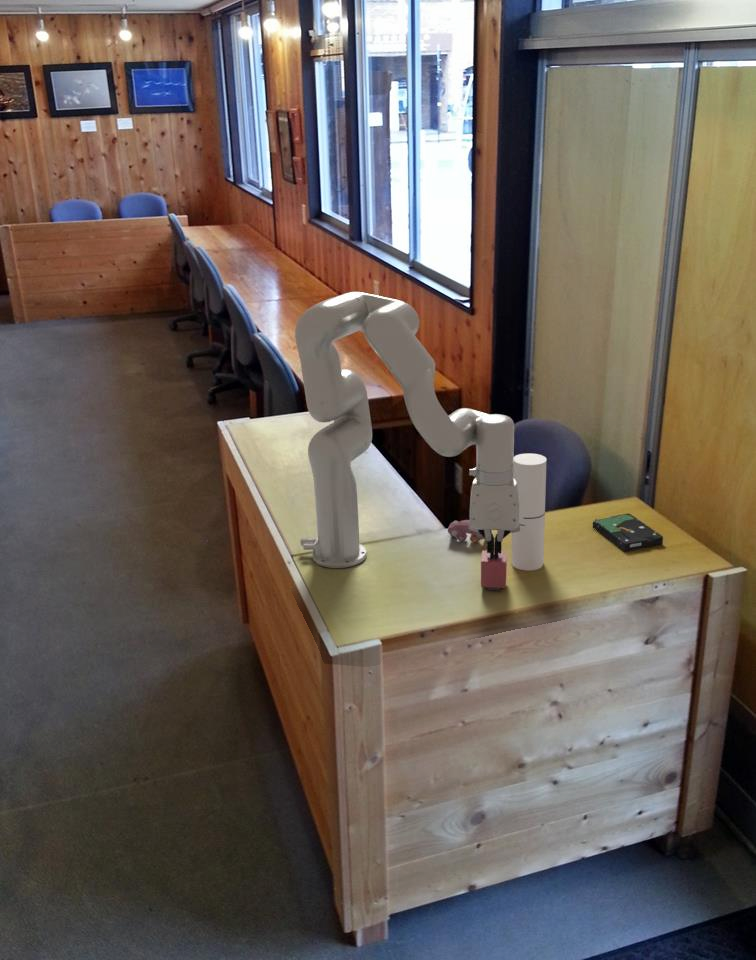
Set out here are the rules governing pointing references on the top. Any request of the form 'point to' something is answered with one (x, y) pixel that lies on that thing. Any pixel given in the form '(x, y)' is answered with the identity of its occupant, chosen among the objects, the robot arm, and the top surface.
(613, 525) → the disk drive
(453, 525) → the purple lumpy figure
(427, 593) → the top surface
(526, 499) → the cylindrical container
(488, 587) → the post
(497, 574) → the pink matte cube
